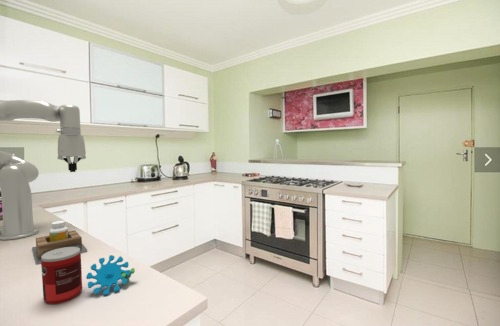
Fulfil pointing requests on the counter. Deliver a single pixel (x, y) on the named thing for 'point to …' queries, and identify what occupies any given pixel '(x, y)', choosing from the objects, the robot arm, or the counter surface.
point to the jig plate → (38, 260)
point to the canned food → (61, 274)
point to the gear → (109, 275)
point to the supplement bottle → (58, 231)
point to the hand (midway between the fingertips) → (72, 171)
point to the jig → (57, 242)
